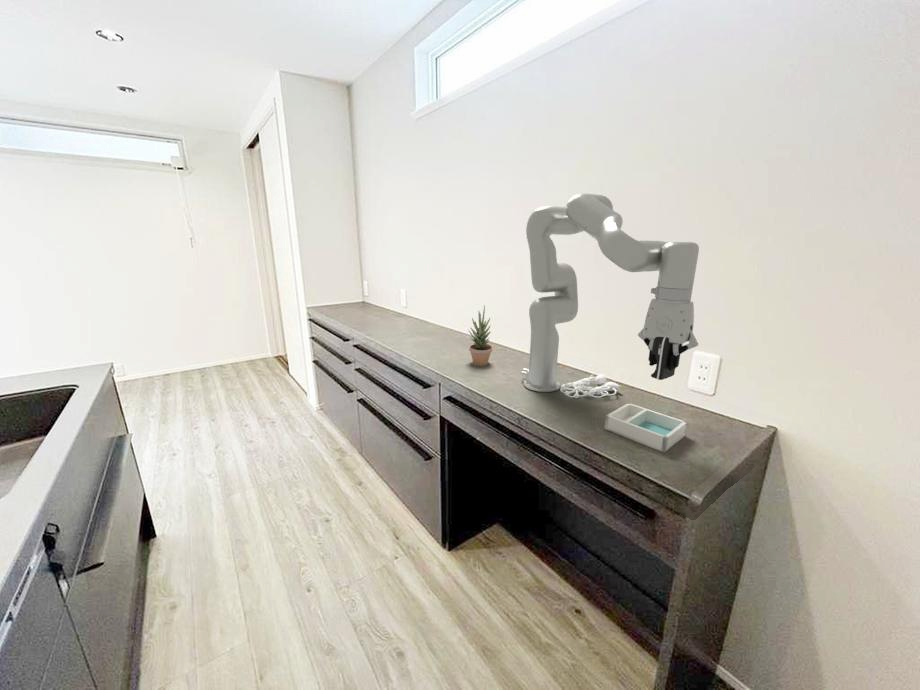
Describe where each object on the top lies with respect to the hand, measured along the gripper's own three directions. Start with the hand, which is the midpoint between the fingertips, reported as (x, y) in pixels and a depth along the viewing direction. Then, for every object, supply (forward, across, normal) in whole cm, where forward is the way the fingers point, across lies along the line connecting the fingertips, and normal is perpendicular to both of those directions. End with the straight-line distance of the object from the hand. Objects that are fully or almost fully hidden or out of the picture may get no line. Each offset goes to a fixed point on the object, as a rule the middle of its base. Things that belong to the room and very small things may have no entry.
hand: (662, 366), depth 98 cm
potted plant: (+19, -73, +7) cm, 76 cm away
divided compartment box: (+19, -2, 0) cm, 20 cm away
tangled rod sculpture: (+20, -27, +15) cm, 37 cm away
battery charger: (+3, 0, 0) cm, 3 cm away
